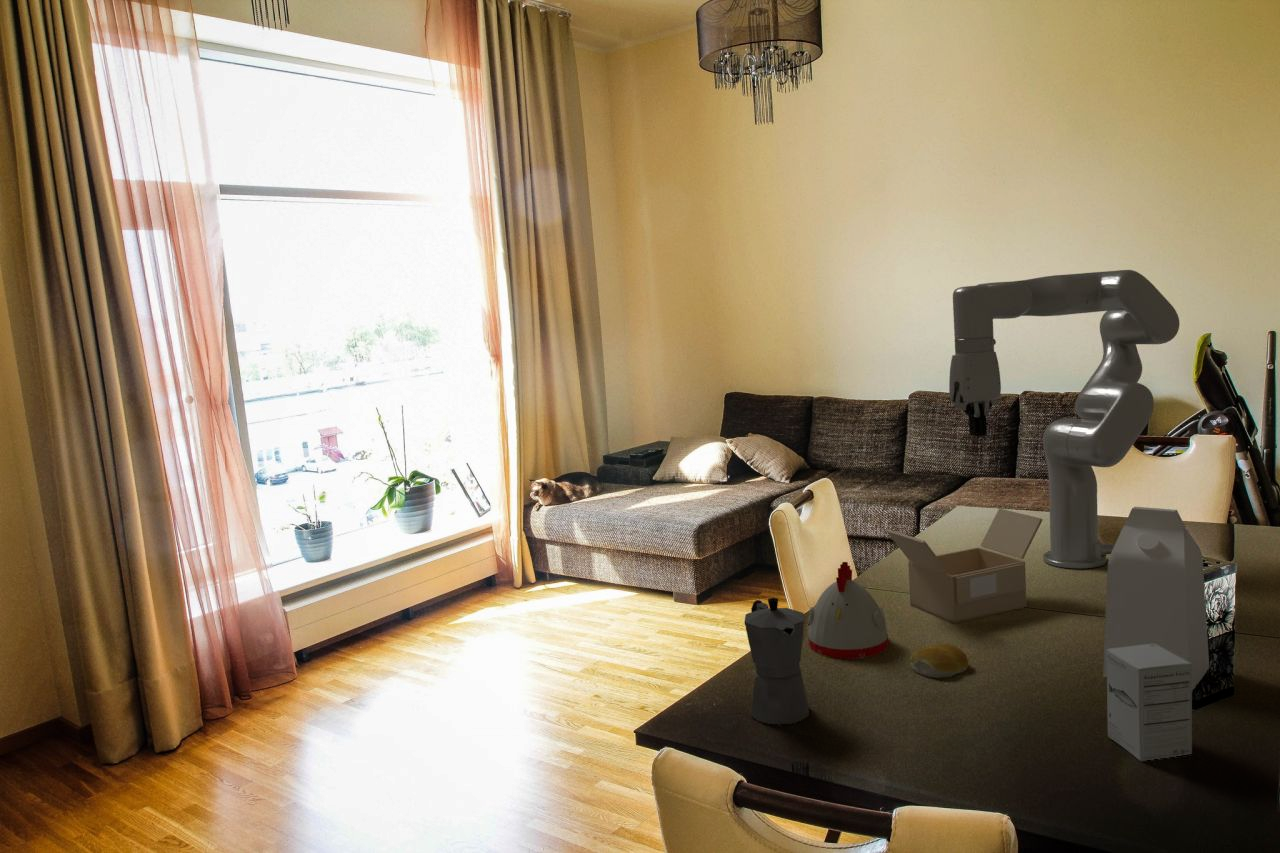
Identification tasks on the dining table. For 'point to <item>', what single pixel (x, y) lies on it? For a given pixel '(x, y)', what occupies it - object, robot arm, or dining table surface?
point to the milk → (1157, 589)
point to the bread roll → (939, 661)
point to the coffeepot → (776, 663)
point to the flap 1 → (917, 551)
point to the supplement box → (1149, 701)
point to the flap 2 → (1011, 533)
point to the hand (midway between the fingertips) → (978, 435)
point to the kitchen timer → (847, 620)
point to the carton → (969, 585)
